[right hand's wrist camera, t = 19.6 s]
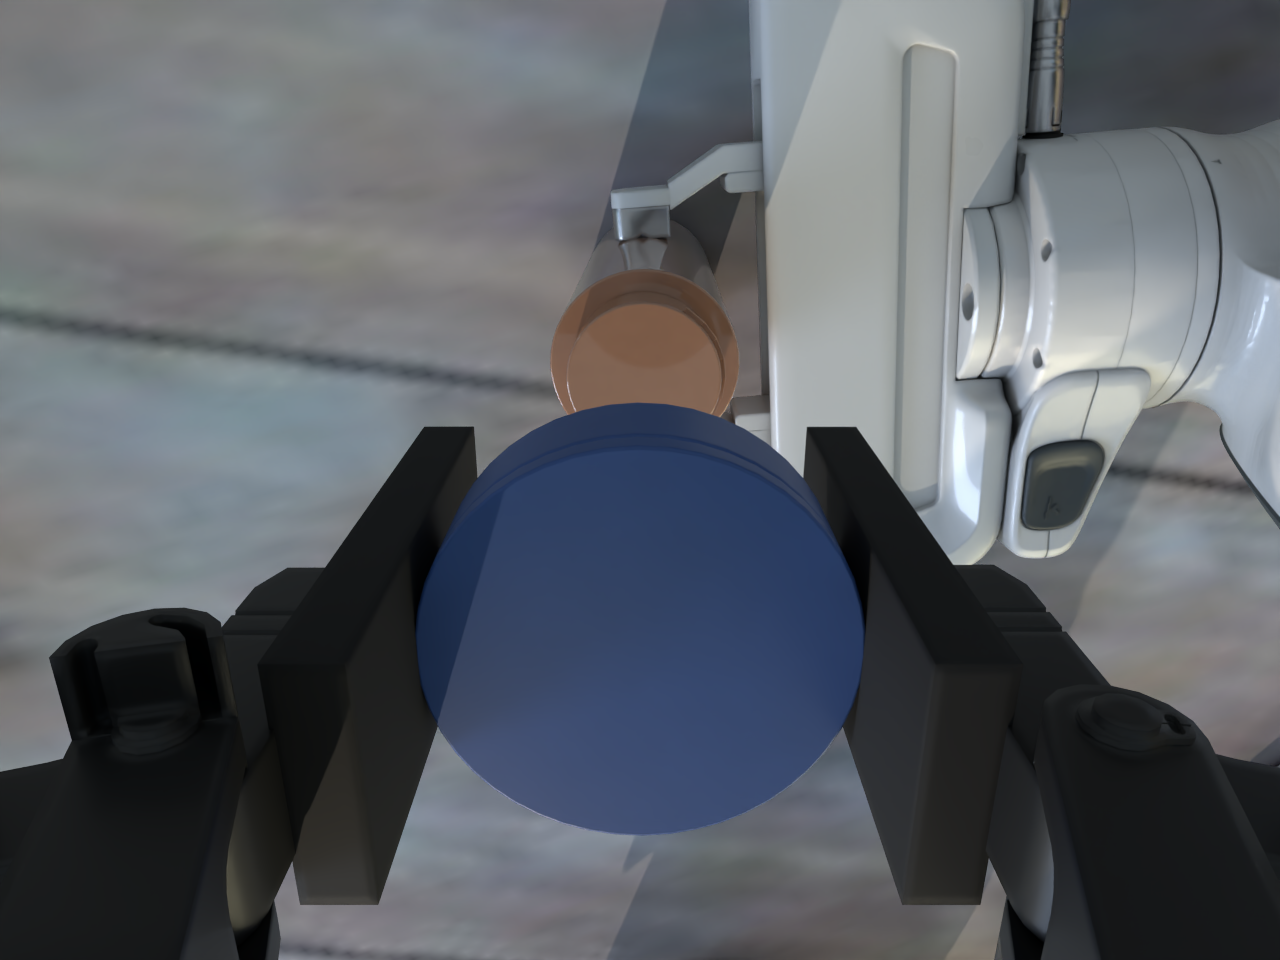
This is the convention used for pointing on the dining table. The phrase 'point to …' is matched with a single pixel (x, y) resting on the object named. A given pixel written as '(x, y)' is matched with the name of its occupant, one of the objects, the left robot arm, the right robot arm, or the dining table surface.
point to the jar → (646, 329)
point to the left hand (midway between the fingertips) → (621, 313)
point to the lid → (640, 622)
